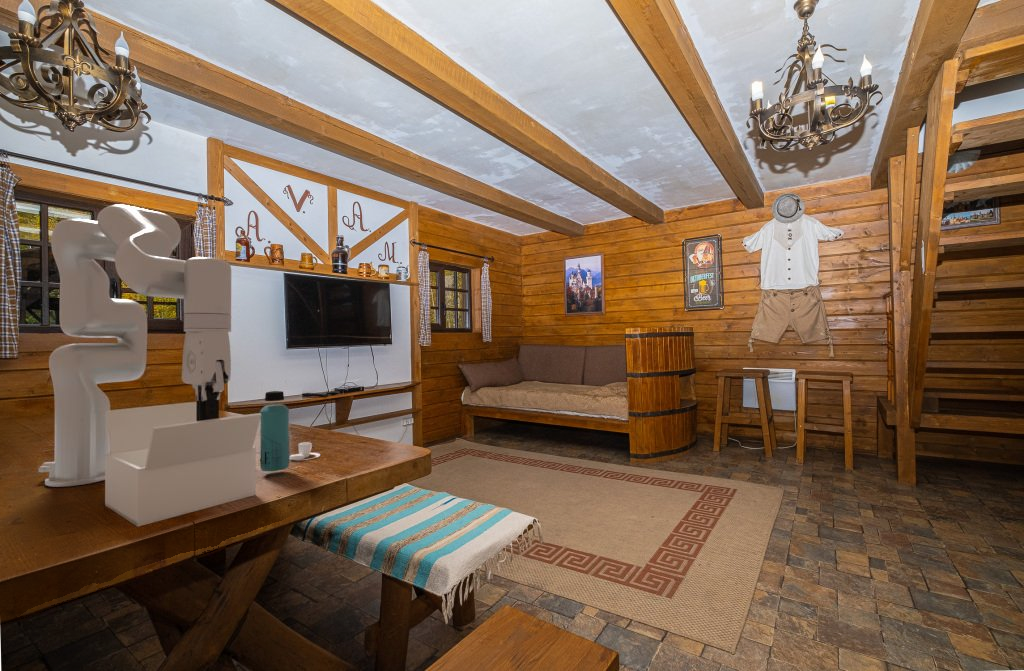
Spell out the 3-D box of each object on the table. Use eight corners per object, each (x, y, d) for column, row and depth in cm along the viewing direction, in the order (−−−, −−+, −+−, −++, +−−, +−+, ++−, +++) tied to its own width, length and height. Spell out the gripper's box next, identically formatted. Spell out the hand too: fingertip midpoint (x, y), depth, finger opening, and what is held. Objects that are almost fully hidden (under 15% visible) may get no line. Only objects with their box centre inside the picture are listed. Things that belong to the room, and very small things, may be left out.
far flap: (105, 410, 94) (105, 411, 95) (111, 453, 92) (111, 454, 92) (204, 400, 109) (203, 401, 109) (212, 437, 107) (210, 438, 107)
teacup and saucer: (295, 464, 123) (295, 448, 123) (280, 459, 127) (280, 444, 127) (326, 457, 130) (326, 442, 130) (310, 453, 134) (310, 439, 134)
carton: (137, 526, 81) (137, 469, 81) (105, 505, 91) (105, 454, 91) (255, 494, 97) (255, 446, 97) (216, 479, 108) (216, 436, 108)
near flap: (144, 467, 82) (145, 469, 81) (153, 426, 80) (154, 428, 79) (250, 447, 97) (251, 449, 96) (260, 412, 94) (261, 414, 94)
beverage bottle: (295, 470, 115) (295, 389, 115) (279, 478, 109) (279, 392, 109) (270, 469, 116) (270, 389, 116) (253, 477, 109) (253, 392, 109)
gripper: (169, 324, 89) (168, 420, 89) (203, 322, 81) (202, 428, 80) (212, 325, 95) (211, 414, 95) (248, 323, 87) (247, 422, 87)
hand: (207, 421), depth 88 cm, fingers closed
